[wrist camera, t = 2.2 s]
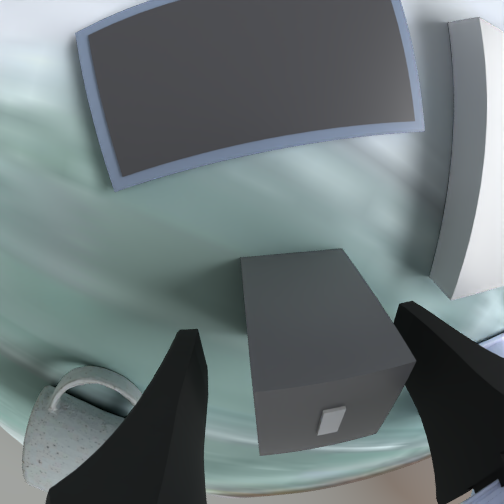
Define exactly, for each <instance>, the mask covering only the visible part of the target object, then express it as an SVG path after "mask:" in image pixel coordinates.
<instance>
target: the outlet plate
mask: <svg viewBox="0 0 504 504" xmlns="http://www.w3.org/2000/svg"><path fill="white" fill-rule="evenodd" d="M448 27H449V34H450V42H451V52H452V64H453V83H454V124H453V143H452V156H451V166H450V175H449V183H448V190H447V197H446V203H445V209H444V215H443V220H442V225H441V230H440V235H439V240H438V244H437V248H436V253H435V257H434V261H433V265H432V268H431V272H430V276H429V277H430V278H431V279H432V280H433V281H434V283H435V284H436V285H437V286H438V287H439V288H440V289H441V290H442V291H443V292H444V293H445V295H446V296H447V297H448V298H449V299H450V300H455V299H459V298H463V297H467V296H470V295H474V294H478V293H481V292H485V291H488V290H492V289H495V288H498V287H502V286H504V32H503V31H501V30H500V29H498V28H497V27H495V26H494V25H492V24H490V23H489V22H487V21H485V20H483V19H482V18H480V17H476V18H469V19H463V20H458V21H453V22H448Z"/></svg>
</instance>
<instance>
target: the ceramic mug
mask: <svg viewBox="0 0 504 504" xmlns="http://www.w3.org/2000/svg"><path fill="white" fill-rule="evenodd" d="M86 383H87V384H93V383H97V384H101V385H105V386H106V387H109V388H111V389H113V390H115V391H117V392H119V393H120V394H121V395H123V396H124V397H125V398H126V399H128V400H129V401H130V402H131V403H132V405H133V406H135V405H136V403H137V402H138V401H139V399H140V397H141V396H142V393H141V392H140V390H139V389H138V388H137V387H136V386H135V385H134V384H133V383H131V382H130V381H129V380H128V379H126V378H125V377H123V376H122V375H120V374H118V373H116V372H113V371H111V370H108V369H106V368H102V367H97V366H84V367H79V368H75V369H73V370H71V371H70V372H68V373H67V374H66V375H65V376H64V377H63V378H62V379H61V380H60V382H59V383H58V385H57V387H56V388H55V387H53V386H50V385H47V386H45V387H44V388H43V390H42V391H41V392H40V394H39V396H38V398H37V400H36V402H35V404H34V407H33V410H32V412H31V415H30V418H29V422H28V425H27V428H26V433H25V439H24V446H23V447H24V448H23V455H22V462H23V463H22V470H23V476H24V479H25V481H26V483H28V484H29V485H31V486H33V487H36V488H38V489H41V490H44V491H46V492H48V491H49V489H50V488H51V487H52V486H54V485H55V484H57V483H58V482H59V481H61V480H62V479H64V478H65V477H66V476H68V475H69V474H70V473H72V472H73V471H74V470H75V469H77V468H78V467H79V466H80V465H81V464H82V463H84V462H85V461H86V460H87V459H88V458H89V457H90V456H91V455H92V454H93V453H94V452H95V451H97V450H98V449H99V448H100V447H101V446H102V445H103V444H104V442H105V441H106V440H107V439H108V438H109V437H110V436H111V435H112V434H113V432H114V431H115V430H116V429H117V428H118V427H119V426H120V424H121V423H122V422H123V421H124V419H125V418H122V417H119V416H117V415H114V414H111V413H108V412H106V411H103V410H101V409H99V408H96V407H94V406H92V405H90V404H88V403H86V402H84V401H82V400H79V399H77V398H75V397H73V396H71V395H69V394H67V393H65V391H66V390H68V389H70V388H72V387H75V386H78V385H84V384H86Z"/></svg>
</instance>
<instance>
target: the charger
mask: <svg viewBox="0 0 504 504" xmlns="http://www.w3.org/2000/svg"><path fill="white" fill-rule="evenodd" d="M240 258H241V270H242V281H243V292H244V303H245V314H246V325H247V336H248V346H249V356H250V366H251V376H252V386H253V396H254V406H255V415H256V425H257V434H258V443H259V453H260V456H263V455H272V454H281V453H288V452H295V451H301V450H307V449H313V448H318V447H323V446H328V445H333V444H337V443H342V442H346V441H350V440H354V439H358V438H362V437H365V436H369V435H372V434H376V433H377V431H378V430H379V428H380V427H381V425H382V424H383V422H384V420H385V419H386V417H387V415H388V414H389V412H390V410H391V409H392V407H393V405H394V403H395V402H396V400H397V398H398V396H399V394H400V392H401V391H402V389H403V387H404V385H405V383H406V381H407V379H408V377H409V375H410V373H411V371H412V369H413V367H414V365H415V363H416V359H415V358H414V356H413V354H412V353H411V351H410V349H409V348H408V346H407V344H406V343H405V341H404V340H403V338H402V336H401V335H400V333H399V331H398V330H397V328H396V327H395V325H394V324H393V322H392V320H391V319H390V317H389V316H388V314H387V313H386V311H385V310H384V308H383V307H382V305H381V304H380V302H379V301H378V299H377V298H376V296H375V295H374V293H373V292H372V290H371V289H370V287H369V286H368V284H367V283H366V281H365V280H364V279H363V277H362V276H361V274H360V273H359V271H358V270H357V268H356V267H355V266H354V264H353V263H352V261H351V260H350V259H349V257H348V256H347V254H346V253H345V252H344V250H343V249H331V250H320V251H308V252H297V253H286V254H275V255H263V256H252V257H240Z"/></svg>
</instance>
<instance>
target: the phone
mask: <svg viewBox="0 0 504 504" xmlns="http://www.w3.org/2000/svg"><path fill="white" fill-rule="evenodd" d="M75 34H76V41H77V47H78V53H79V59H80V64H81V70H82V75H83V80H84V84H85V89H86V93H87V98H88V102H89V106H90V110H91V114H92V118H93V122H94V126H95V130H96V133H97V137H98V141H99V144H100V147H101V151H102V154H103V158H104V161H105V164H106V167H107V170H108V174H109V177H110V180H111V183H112V186H113V189H114V192H116V191H119V190H122V189H125V188H128V187H131V186H134V185H137V184H141V183H144V182H147V181H150V180H154V179H157V178H160V177H164V176H167V175H171V174H174V173H178V172H182V171H185V170H189V169H193V168H197V167H200V166H204V165H208V164H212V163H217V162H221V161H225V160H229V159H234V158H238V157H243V156H247V155H252V154H257V153H262V152H267V151H272V150H277V149H282V148H288V147H293V146H299V145H305V144H311V143H318V142H324V141H331V140H338V139H346V138H354V137H362V136H372V135H382V134H393V133H406V132H421V131H425V125H424V114H423V105H422V97H421V90H420V83H419V77H418V71H417V65H416V60H415V55H414V50H413V46H412V41H411V37H410V33H409V29H408V25H407V21H406V18H405V14H404V11H403V7H402V4H401V1H400V0H150V1H147V2H145V3H142V4H139V5H136V6H134V7H131V8H129V9H126V10H124V11H121V12H119V13H116V14H114V15H112V16H109V17H107V18H105V19H103V20H101V21H99V22H96V23H94V24H92V25H90V26H88V27H86V28H84V29H82V30H80V31H79V32H77V33H75Z"/></svg>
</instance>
